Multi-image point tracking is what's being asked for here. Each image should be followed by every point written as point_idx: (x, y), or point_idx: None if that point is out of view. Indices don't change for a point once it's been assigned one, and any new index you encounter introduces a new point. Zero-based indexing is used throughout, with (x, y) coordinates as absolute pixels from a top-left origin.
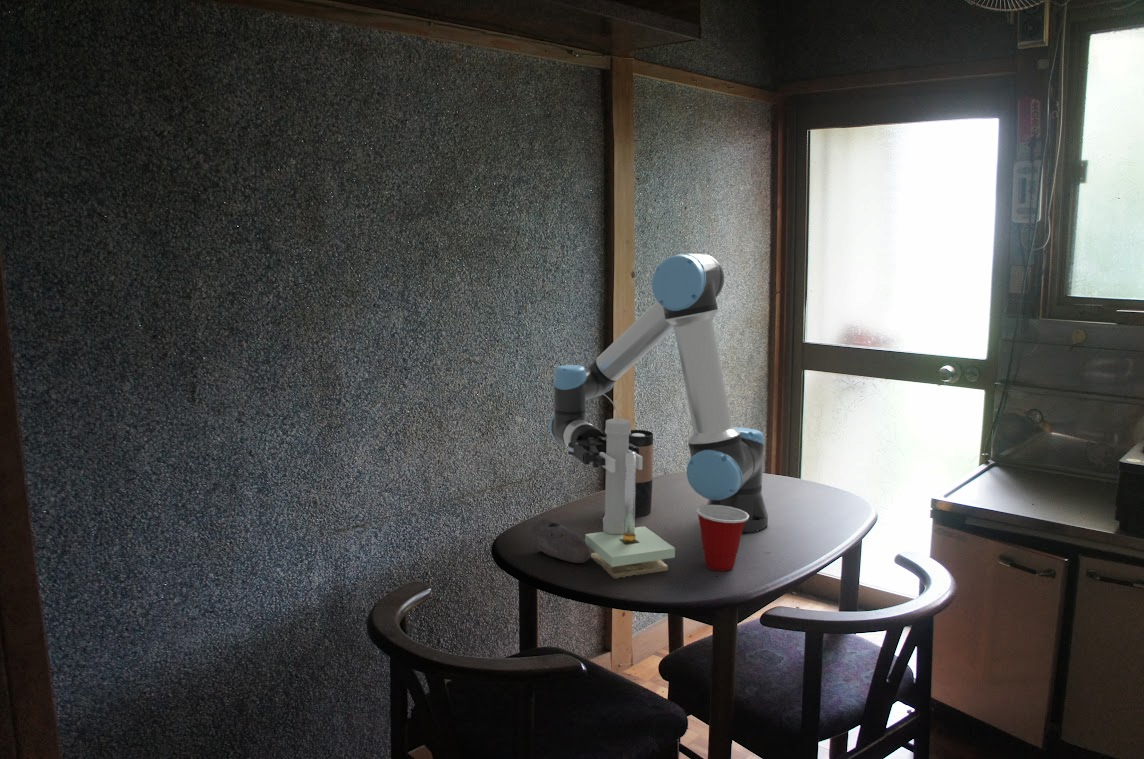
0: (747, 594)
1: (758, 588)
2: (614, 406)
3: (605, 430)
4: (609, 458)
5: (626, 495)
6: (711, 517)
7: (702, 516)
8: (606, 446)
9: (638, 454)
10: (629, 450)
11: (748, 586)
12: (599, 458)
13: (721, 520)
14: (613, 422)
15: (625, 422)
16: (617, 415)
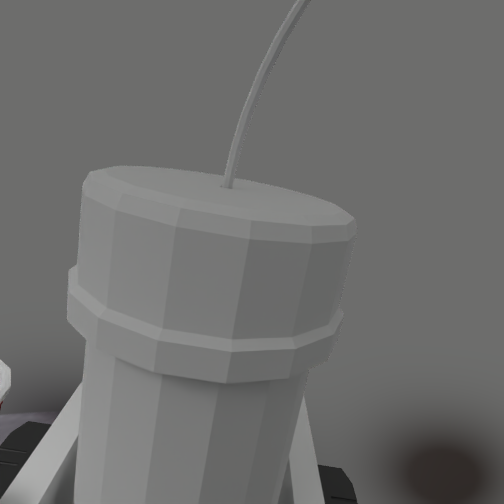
0: (50, 412)
1: (5, 417)
2: (298, 17)
3: (340, 310)
4: (304, 399)
5: None
6: (4, 376)
7: (3, 398)
8: (279, 477)
9: (2, 444)
10: (31, 477)
11: (10, 430)
12: (349, 487)
13: (1, 361)
14: (297, 194)
15: (194, 172)
16: (246, 127)
